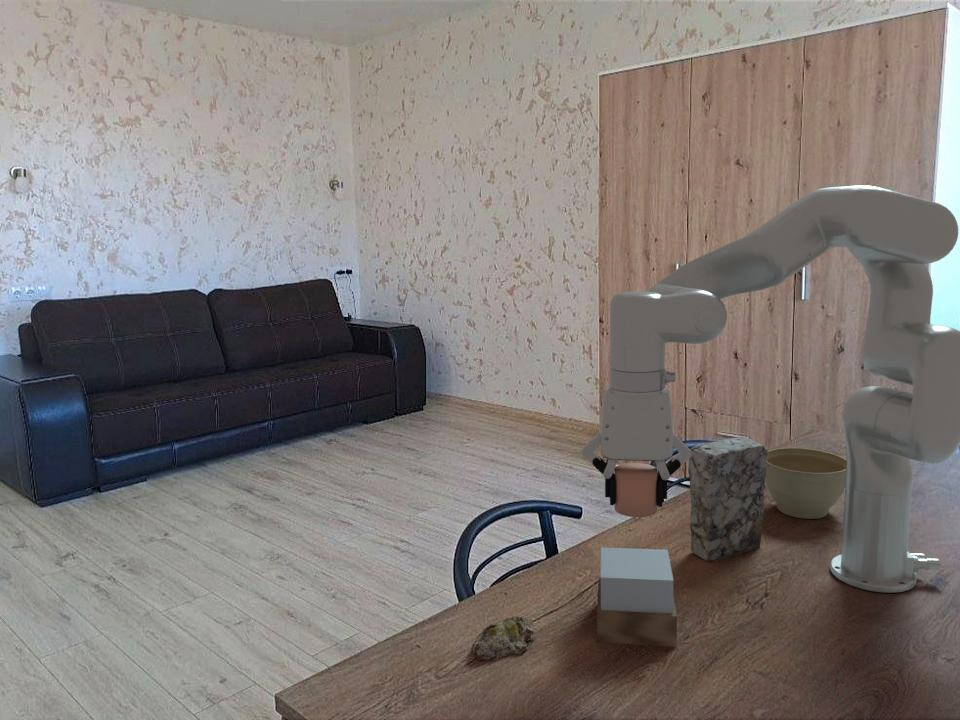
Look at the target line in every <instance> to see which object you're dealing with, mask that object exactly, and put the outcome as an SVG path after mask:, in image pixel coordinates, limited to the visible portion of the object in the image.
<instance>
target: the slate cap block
mask: <svg viewBox="0 0 960 720" xmlns="http://www.w3.org/2000/svg"><path fill="white" fill-rule="evenodd" d="M600 576H601V610H610V611H630V612H650V613H670V614H673V595H674V577H673V576H674V575H673V570H672V565H671V560H670V555H669V551H668V549H656V548H655V549H654V548H626V547H625V548H624V547H606V546H605V547H602V546H601V547H600Z"/></svg>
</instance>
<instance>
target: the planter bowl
mask: <svg viewBox="0 0 960 720" xmlns="http://www.w3.org/2000/svg"><path fill="white" fill-rule="evenodd" d="M765 466H766V476H765V486H766V487H767V490H768V492H769V494H770V496H771V497H772V499H774V501H775V503H776V508H777V509H778V511H779V512H781V513H783V514H785V515H786V516H787V515H788V516H789V517H793V518H798V519H806V520H813V519H814V520H815V519H821V518H825V517H827V516H828V514H829V511H830V509H831V508H832V507H833V506H834V505H835V504H836V503H837V502H838V500H839V499H840V498H841V497H842V495H843V493H844V492H845V483H846V458H844V457H842V456H840V455H837V454H836V453H832V452H827V451H824V450H823V451H822V450H818V449H812V448H804V447H781V448H774V449H770V450H769V449H768V454H767V459H766V465H765Z"/></svg>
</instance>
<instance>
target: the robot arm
mask: <svg viewBox="0 0 960 720" xmlns="http://www.w3.org/2000/svg"><path fill="white" fill-rule="evenodd" d="M958 239H959V225H958V221H957V219H956V217H955V215H954V214H953V212H952V211H951V210H950V209H948V208H947V206H944V205H942V204H941V203H939V202H936V201H932V200H928V199H926V198H925V199H924V198H920V197H916V196H913V195H910V194H905V193H903V192H902V193H901V192H899V191H895V190H891V189H887V188H882V187H878V186H872V185H864V184H863V185H860V184H859V185H849V186H848V185H847V186H844V185H843V186H835V187H834V186H832V187H830V186H829V187H823V188H818V189H816V190H812V191H811V192H808V193H807V194H805V195H802V197H800V198H798V199H797V200H796V201H795V202H793V203H791V204H789V206H787V207H785V208H784V209H783V210H781V211H780V212H778V213H777V214H776V215H774V216H773V217H772V218H770V219H769V220H767V221H766V222H764V223H763V224H761V225H760V226H759V227H757V228H756V229H754V230H752V231H751V232H750V233H747V235H745V236H743V237H740V238H739V239H736V240H734V241H731V242H729V243H727V244H725V245H722V246H721V247H718V248H716V249H714V250H712V251H710V252H707V253H706V254H703V255H701V256H698V257H697V258H694V259H691V260H690V261H688V262H686V263H685V264H683V265H681V266H680V267H678V268H676V269H675V270H674V271H672V272H671V273H669V274H667V275H666V276H665V277H664V278H662V279H661V280H659V281H658V282H656V284H654V285H653V286H652V287H650V288H649V290H648V291H645V290H644V291H643V290H639V291H636V290H635V291H623V292H618V293H615V294H614V295H613V296H612V298H611V299H610V302H609V386H607V387H604V390H603V394H602V398H601V399H602V400H601V409H600V424H599V425H600V426H599V431H598V432H597V433H596V434H595V435H594V436H592V438H591V439H590V440H589V441H588V442H587V443H586V444H585V445H584V446H583V447H582V448H581V455H582V456H583V457H585V459H586V460H587V461H589V463H591V464H592V465H593V467H595V469H596V470H598V472H599V473H600V474H602V476H603V478H604V483H605V484H604V498H609V505H610V506H614V504H615V467H616V466H617V464H618V461H625V462H626V461H630V462H633V461H634V462H635V461H637V462H655V465H656V468H657V508H660V507H661V508H663V500H667V499H668V480H669V479H670V477H672V475H673V474H674V473H675V472H677V470H679V469H680V468H681V466H683V464H685V463H686V462H687V461H689V459H690V458H691V457H692V452H691V450H690V449H691V448H689V447H688V446H687V445H686V444H685V443H684V442H683V441H682V440H681V439H680V438H679V437H678V436H677V435H676V434H675V433H674V421H673V420H674V419H673V410H672V399H671V397H672V396H671V393H670V388H668V387H666V385H667V384H669V383H676V372H670V371H669V370H667V369H665V359H666V358H665V357H666V356H665V355H666V344H667V343H674V344H675V343H678V344H692V345H698V344H700V345H701V344H704V343H707V342H710V341H713V340H714V339H716V338H718V336H719V335H720V334H721V333H722V332H723V330H724V329H725V327H726V325H727V321H728V313H727V312H728V311H727V308H726V306H725V304H724V302H723V300H722V299H724V298H727V297H732V296H735V295H739V294H745V293H747V294H748V293H752V292H759V291H762V290H766V289H769V288H773V287H776V286H780V285H781V284H783V283H785V282H786V281H787V280H789V279H790V278H791V277H793V276H794V275H795V274H797V273H798V272H800V271H801V270H802V269H804V268H805V267H806V266H808V265H810V264H811V263H812V262H814V261H815V260H816V259H818V258H820V257H821V256H822V255H824V254H825V253H826V252H828V251H830V250H832V249H834V248H847V250H848V251H849V252H850V253H851V255H852V256H853V257H854V258H855V259H856V260H857V261H858V262H859V263H860V265H861V266H862V268H863V270H864V272H865V273H866V276H867V278H868V281H869V289H870V290H869V291H870V294H869V305H868V312H867V318H866V322H865V331H864V338H863V344H862V345H863V346H862V353H861V354H862V357H861V359H862V364H863V367H864V368H865V370H867V372H868V373H870V374H872V375H873V376H876V377H878V378H880V379H883V380H888V381H892V382H897V383H900V384H905V385H909V386H912V393H911V392H909V391H908V392H907V391H903V390H901V389H900V390H898V389H895V388H891V387H886V386H882V385H880V386H879V385H869V386H865V387H861V388H859V389H856V390H855V391H853V392H852V393H851V394H850V395H849V396H848V398H847V399H846V401H845V402H844V405H843V409H842V412H841V422H842V430H843V437H844V442H845V453H846V456H845V457H846V458H845V459H846V483H845V489H844V501H843V502H844V505H843V518H842V519H843V521H842V522H843V523H842V538H841V539H842V540H841V554H839V555H838V554H837V555H836V556H835V557H833V558H832V559H831V562H830V571H831V573H832V575H834V576H835V578H837V579H838V580H840V581H841V582H843V583H845V584H847V585H849V586H852V587H855V588H858V589H861V590H865V591H869V592H870V591H871V592H876V593H886V594H888V593H890V594H891V593H893V594H894V593H901V592H902V593H903V592H907V591H909V590H911V589H913V588H914V587H916V585H917V580H918V579H917V578H918V575H917V573H918V572H919V571H921V570H922V571H930V572H931V571H933V572H938V571H940V570H941V563H940V560H939V558H927V557H926V556H925V554H924V553H923V552H921V553H919V552H918V553H917V552H913V553H912V552H911V553H910V551H908V548H909V535H910V521H911V510H912V509H911V507H912V495H913V493H912V491H913V481H914V476H913V470H912V469H913V468H912V465H911V460H912V461H915V462H919V463H923V464H928V465H929V464H930V465H932V464H933V465H934V464H940V463H942V462H944V461H946V460H948V459H949V458H951V457H952V456H953V455H954V453H955V452H956V451H957V449H958V448H959V446H960V330H958V329H956V328H953V327H950V326H947V325H940V324H933V323H931V316H932V315H931V314H932V304H933V296H934V295H933V294H934V288H933V287H934V286H933V280H932V277H931V274H930V272H929V270H928V268H927V266H926V265H927V264H932V263H935V262H939V261H940V260H942V259H944V258H946V256H948V255H949V254H950V253H951V252H952V250H953V249H954V247H956V243H957V241H958ZM598 448H600V454H601V456H602V457H603V458H605V459H606V460H604V459H603V458H602V457H601V456H599V455H597V454H596V452H595V451H596V450H597V449H598ZM674 449H676V451H677V452H678V453H677V454H676V456H674V457H673V453H674ZM667 460H669V461H668V462H666V461H667Z"/></svg>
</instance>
